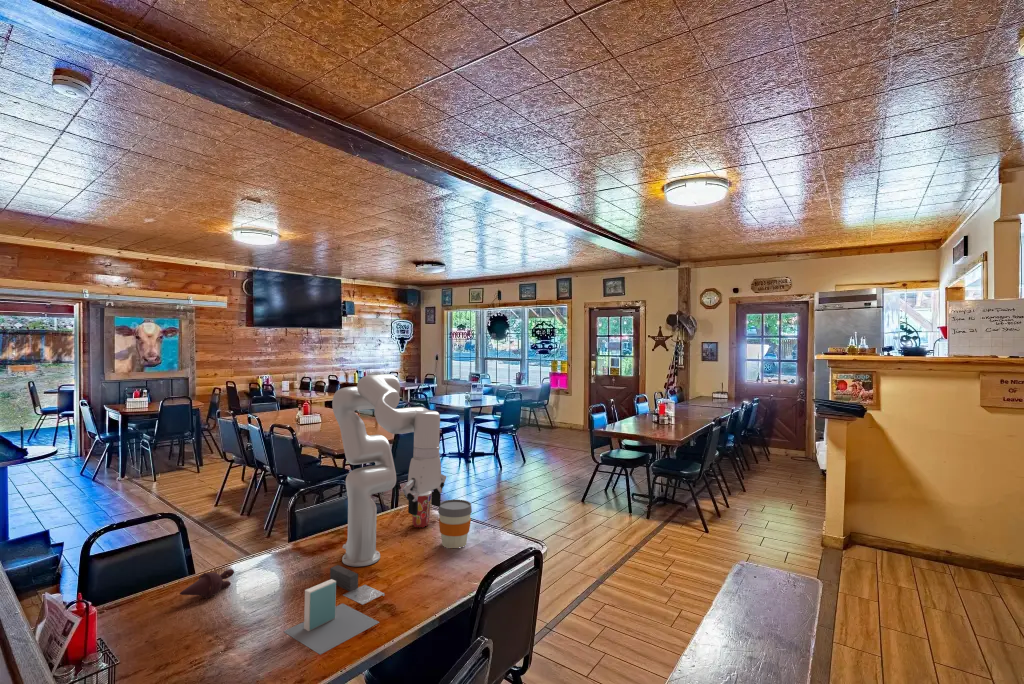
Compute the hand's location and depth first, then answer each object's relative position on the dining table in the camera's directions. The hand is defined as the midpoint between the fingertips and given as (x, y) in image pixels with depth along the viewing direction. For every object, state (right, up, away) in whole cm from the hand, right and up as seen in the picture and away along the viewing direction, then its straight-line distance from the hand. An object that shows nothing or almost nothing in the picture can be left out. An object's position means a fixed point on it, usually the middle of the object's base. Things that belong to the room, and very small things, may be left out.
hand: (424, 509), depth 153 cm
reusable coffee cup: (+4, -26, +40) cm, 48 cm away
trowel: (-22, -25, +2) cm, 34 cm away
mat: (-21, -25, -18) cm, 38 cm away
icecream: (-63, -25, -3) cm, 68 cm away
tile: (-25, -25, -17) cm, 39 cm away
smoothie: (-12, -26, +58) cm, 65 cm away
